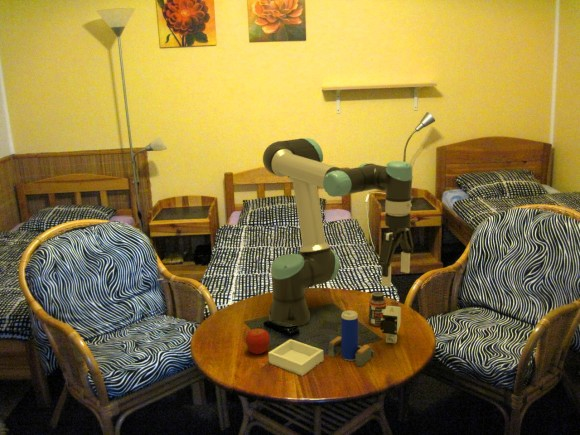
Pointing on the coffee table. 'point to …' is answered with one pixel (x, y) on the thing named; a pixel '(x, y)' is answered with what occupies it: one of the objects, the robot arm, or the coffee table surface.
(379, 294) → the supplement bottle
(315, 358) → the tray
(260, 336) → the apple
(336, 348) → the fuse holder
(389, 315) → the pneumatic valve
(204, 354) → the coffee table surface
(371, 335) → the coffee table surface
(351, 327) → the beverage can
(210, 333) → the coffee table surface
